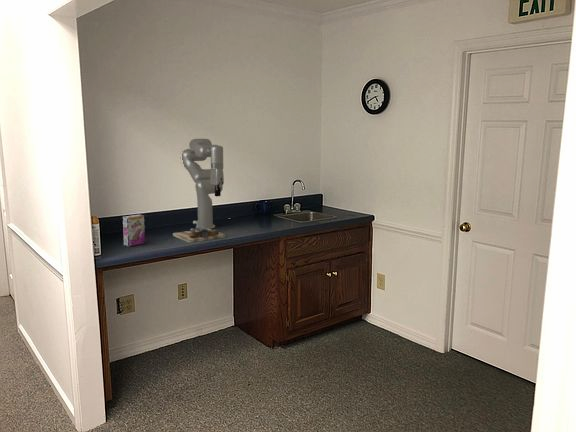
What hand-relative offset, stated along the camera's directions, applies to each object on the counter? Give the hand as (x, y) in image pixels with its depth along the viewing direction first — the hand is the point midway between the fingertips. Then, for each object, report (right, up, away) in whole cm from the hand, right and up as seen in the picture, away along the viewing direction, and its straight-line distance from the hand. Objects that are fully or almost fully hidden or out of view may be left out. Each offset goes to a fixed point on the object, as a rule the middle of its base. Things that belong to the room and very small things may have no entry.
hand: (217, 196), depth 302 cm
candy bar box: (-43, -28, -25) cm, 57 cm away
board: (-11, -25, -4) cm, 27 cm away
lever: (-7, -24, -10) cm, 27 cm away
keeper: (-8, -24, -10) cm, 28 cm away
